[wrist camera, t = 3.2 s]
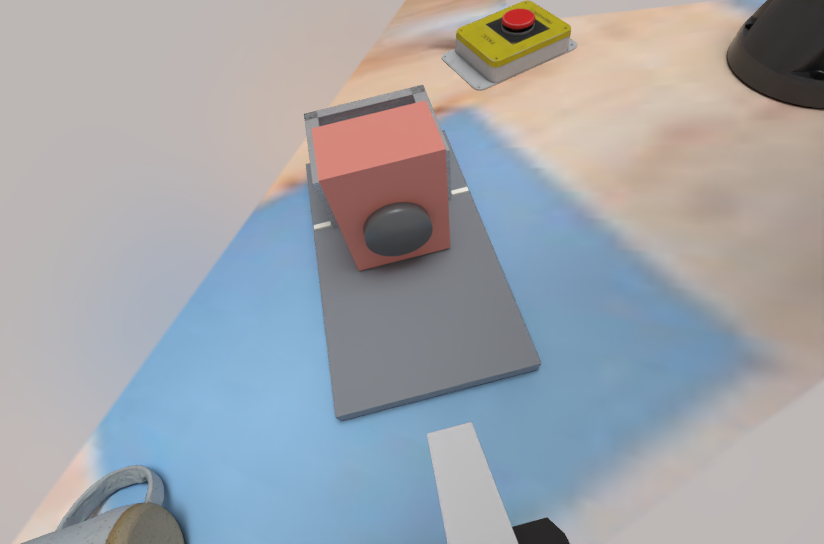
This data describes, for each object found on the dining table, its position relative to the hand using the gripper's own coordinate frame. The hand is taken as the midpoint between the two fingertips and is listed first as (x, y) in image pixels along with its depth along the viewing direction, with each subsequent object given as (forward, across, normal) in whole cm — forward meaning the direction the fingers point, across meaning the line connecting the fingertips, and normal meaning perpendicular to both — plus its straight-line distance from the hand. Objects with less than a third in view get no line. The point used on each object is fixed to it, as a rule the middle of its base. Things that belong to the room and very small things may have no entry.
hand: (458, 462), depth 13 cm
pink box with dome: (+23, 0, +4) cm, 23 cm away
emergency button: (+43, +20, +21) cm, 51 cm away
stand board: (+24, 0, +3) cm, 24 cm away
